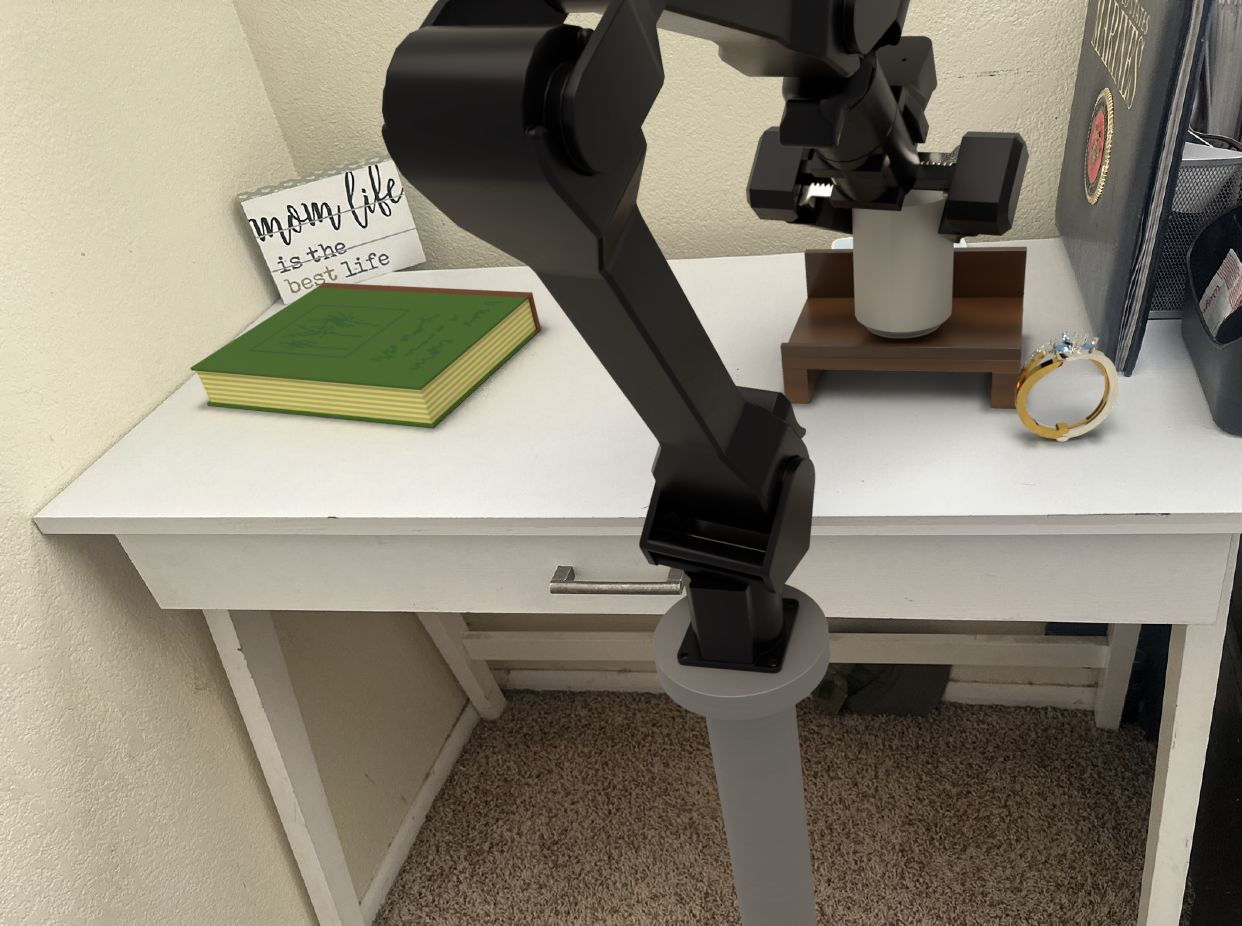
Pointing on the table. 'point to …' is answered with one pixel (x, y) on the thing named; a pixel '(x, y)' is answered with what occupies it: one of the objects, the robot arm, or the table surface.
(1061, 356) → the ring
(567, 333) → the table surface
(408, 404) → the hardcover book
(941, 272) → the can
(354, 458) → the table surface
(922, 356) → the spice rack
